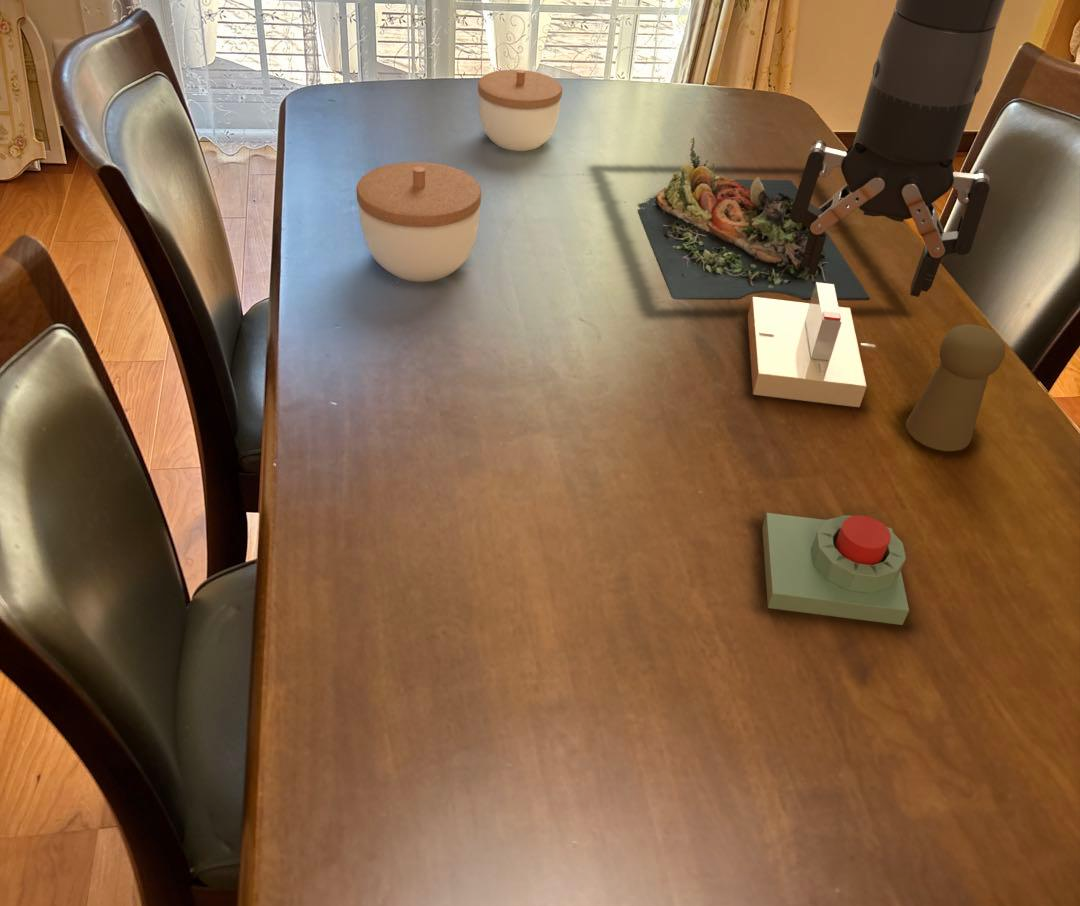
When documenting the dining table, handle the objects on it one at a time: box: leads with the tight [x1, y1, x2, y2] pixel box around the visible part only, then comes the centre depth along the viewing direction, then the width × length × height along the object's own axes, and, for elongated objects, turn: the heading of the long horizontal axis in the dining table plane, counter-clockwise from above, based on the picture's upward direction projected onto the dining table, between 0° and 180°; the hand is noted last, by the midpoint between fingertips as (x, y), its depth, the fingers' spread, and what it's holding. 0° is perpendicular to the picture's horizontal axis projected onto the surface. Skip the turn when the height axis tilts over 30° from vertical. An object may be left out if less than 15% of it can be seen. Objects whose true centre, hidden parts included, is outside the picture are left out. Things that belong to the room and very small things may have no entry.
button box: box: [761, 512, 910, 626], centre depth 78 cm, size 10×9×4 cm
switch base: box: [747, 296, 876, 408], centre depth 100 cm, size 12×14×3 cm
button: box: [836, 515, 891, 565], centre depth 76 cm, size 4×4×2 cm
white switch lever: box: [805, 282, 842, 360], centre depth 98 cm, size 7×2×4 cm, turn 174°
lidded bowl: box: [356, 161, 482, 282], centre depth 106 cm, size 13×13×11 cm
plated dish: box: [636, 137, 871, 301], centre depth 117 cm, size 35×28×7 cm
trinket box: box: [477, 69, 563, 152], centre depth 132 cm, size 11×11×9 cm
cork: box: [905, 323, 1006, 452], centre depth 90 cm, size 6×6×11 cm
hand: (862, 281), depth 86 cm, fingers open, 8 cm apart
